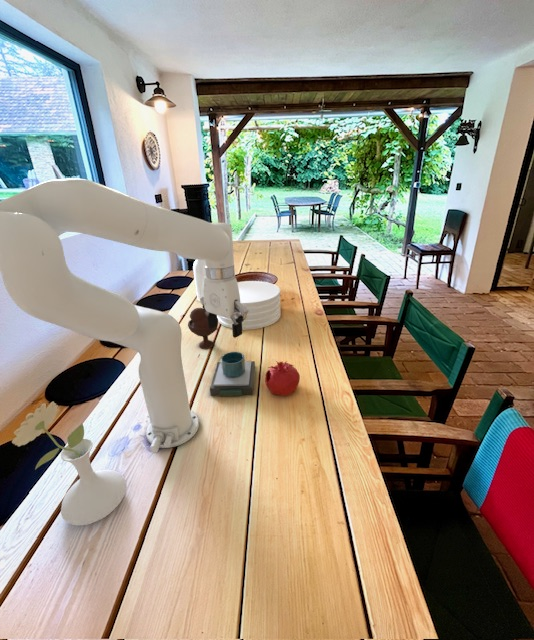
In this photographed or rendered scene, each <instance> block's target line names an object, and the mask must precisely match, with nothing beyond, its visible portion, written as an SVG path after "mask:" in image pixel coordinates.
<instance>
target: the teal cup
mask: <svg viewBox="0 0 534 640" xmlns="http://www.w3.org/2000/svg"><path fill="white" fill-rule="evenodd" d="M245 360H246V359H245V355H244V354H243V353H242V352H240V351H229V352H226V353H224V354H223V355H221V357H220V362H221V365H222V372H223V374H224V375H225V376H228V377H237V376H240V375H242V374H243V373H244V372H245Z"/></svg>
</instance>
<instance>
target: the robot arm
mask: <svg viewBox="0 0 534 640" xmlns="http://www.w3.org/2000/svg"><path fill="white" fill-rule="evenodd" d="M232 230H233V229H232V226H231V224H229V223H227V222H209V221H206V220H205V219H201V218H198V217H195V216H192V215H189V214H184V213H181V212H177V211H174V210H171V209H168V208H165V207H162V206H157V205H155V204H151V203H149V202H147V201H144V200H141V199H138V198H135V197H133V196H130V195H128V194H125V193H124V192H121V191H119V190H116V189H113V188H112V187H108V186H106V185H104V184H101V183H99V182H95V181H93V180H89V179H85V178H60V179H59V178H57V179H49V180H46V181H43V182H40V183H38V184H36V185H34V186H32V187H28V188H27V189H25V190H23V191H21V192H18V193H16V194H13V195H12V196H10V197H7V198H5V199H3V200H0V274H1V279H2V282H3V285H4V287H5V290H6V291H7V293H8V296H10V297H9V298H11V300H12V302H14V304H15V305H16V306H17V307H18V308H19V309H20V310H21V311H23V312H24V313H25V314H27V315H28V316H31V317H33V318H36V319H37V320H40V321H43V322H45V323H49V324H52V325H54V326H57V327H58V326H59V327H61V328H64V329H67V330H70V331H72V332H74V333H76V334H80V335H82V336H85V337H87V338H90V339H93V340H97V341H98V340H99V341H102V342H103V341H104V342H110V343H113V344H117V345H120V346H121V347H125V348H128V349H130V350H133V351H135V352H137V353H138V354H139V355H140V361H139V365H138V378H139V381H140V386H141V389H142V393H143V397H144V402H145V407H146V410H147V414H148V419H149V423H148V425H147V426H146V430H145V435H146V440H147V441H148V442H149V443H150V446H149V452H151V453H153V454H155V453H158V452H159V449H160V448H161V449H169V448H175V447H178V446H181V445H183V444H185V443H187V442H188V441H190V440H191V439H192V438H193V437H194V436H195V435H196V433H197V432H198V430H199V427H200V422H199V418H198V415H197V414H196V413H195V412H194V411H193V410H191V407H190V401H189V395H188V389H187V383H186V377H185V373H184V367H183V360H182V359H183V358H182V339H183V338H182V336H183V335H182V334H183V333H182V327H181V325H180V323H179V321H178V320H177V319H176V318H175V317H174V316H172V315H171V314H169V313H167V312H164V311H161V310H158V309H153V308H149V307H144V306H140V305H137V304H133V302H132V301H130V300H129V299H128V298H127V297H125V296H124V295H122V294H119V293H117V292H115V291H113V290H112V291H111V290H108V289H106V288H103V287H101V286H99V285H96V284H94V283H92V282H89V281H87V280H86V279H84V278H81V277H80V276H77V275H76V274H74V273H73V272H72V271H71V270H70V268H69V266H68V264H67V261H66V258H65V251H64V248H63V243H62V241H61V238H60V236H61V235H63V234H65V233H66V232H67V233H78V234H83V235H88V236H93V237H96V238H100V239H104V240H107V241H113V242H116V243H119V244H124V245H127V246H131V247H135V248H140V249H144V250H145V249H146V250H150V251H156V252H166V253H169V252H170V253H174V254H176V255H177V256H178V257H181V258H184V259H189V260H196V259H198V260H204V262H205V272H206V276H205V277H204V287H203V294H204V297H202V298H200V301H201V302H200V303H201V305H202V308H203V309H204V310H205V314H206V315H207V320H208V328H209V329H212V328H214V327H216V326H218V327H219V322H218V321H217V315H219V316H222V317H226V318H228V317H230V318H231V320H232V321H233V323H234V324H232V328H231V330H232V337H233V338H235V339H236V338H238V337H240V336H241V335H243V330H242V322H243V321H244V319H245V318H246V316H247V313H248V309H247V308H246V307H244V306H243V305H242V304H241V303H240V294H239V288H238V284H237V282H238V280H237V277H236V272H235V257H234V244H233V243H234V241H233V231H232ZM240 312H241V314H240ZM234 315H236V316H237V317H238V318H237V319H236V318H235V316H234Z"/></svg>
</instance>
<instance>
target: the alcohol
mask: <svg viewBox="0 0 534 640" xmlns="http://www.w3.org/2000/svg"><path fill="white" fill-rule="evenodd" d="M194 260H195V261H193V266H192V270H193V278H194V285H195V293H196V299H197V301H198V302H199V303H201V301H200V298H202V297H204V294H203V287H204V277H205V276H206V272H205V262H204V260H198V259H194Z"/></svg>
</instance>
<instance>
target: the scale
mask: <svg viewBox="0 0 534 640" xmlns="http://www.w3.org/2000/svg"><path fill="white" fill-rule="evenodd" d="M255 374H256V361H255V360H248V361H245V372H244V373H243V374H242V375H240V376H237V377H228V376H225V375H224V374H223V372H222V365H221V361H217V362H216V366H215V370H214V372H213V377H212V380H211V383H210V386H209V393H210V394H209V395H210V396H220V397H221V396H225V397H226V396H227V397H228V396H253V395H254V385H255Z"/></svg>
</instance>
